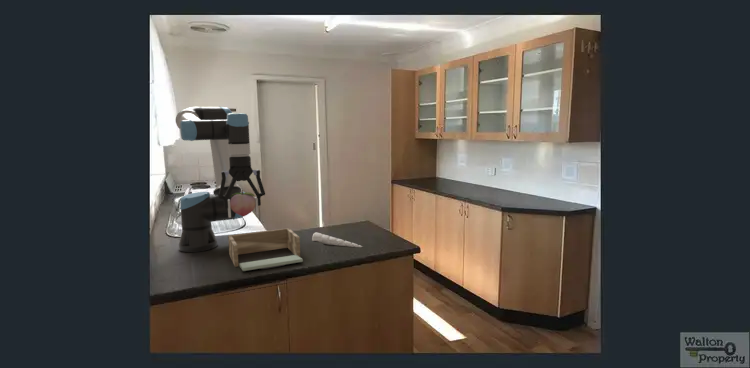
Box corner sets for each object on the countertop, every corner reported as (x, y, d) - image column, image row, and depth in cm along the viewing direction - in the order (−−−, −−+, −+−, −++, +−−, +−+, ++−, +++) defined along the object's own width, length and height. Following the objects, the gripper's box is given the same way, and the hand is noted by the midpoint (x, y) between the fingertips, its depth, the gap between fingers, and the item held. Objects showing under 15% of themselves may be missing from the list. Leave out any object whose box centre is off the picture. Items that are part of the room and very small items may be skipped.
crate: (229, 257, 162) (228, 235, 161) (289, 249, 173) (288, 228, 172) (235, 270, 148) (233, 245, 147) (300, 259, 159) (299, 237, 157)
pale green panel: (239, 263, 149) (242, 268, 141) (296, 254, 158) (302, 258, 150) (239, 267, 149) (243, 272, 141) (296, 258, 158) (302, 263, 150)
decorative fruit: (258, 213, 160) (257, 188, 158) (254, 218, 151) (253, 191, 150) (233, 214, 159) (232, 188, 157) (228, 219, 151) (226, 191, 149)
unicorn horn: (358, 250, 171) (358, 239, 170) (311, 244, 181) (310, 233, 181) (364, 247, 175) (363, 236, 174) (317, 241, 185) (316, 231, 185)
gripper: (268, 154, 160) (271, 211, 163) (207, 156, 151) (211, 216, 154) (271, 154, 153) (274, 214, 156) (208, 157, 144) (212, 220, 147)
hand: (243, 215), depth 155 cm, fingers closed on decorative fruit, 9 cm apart
